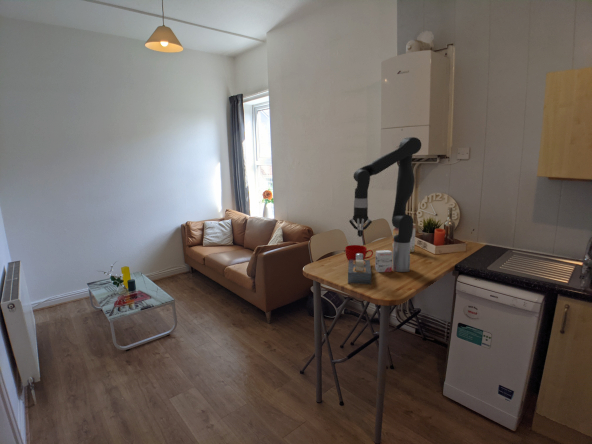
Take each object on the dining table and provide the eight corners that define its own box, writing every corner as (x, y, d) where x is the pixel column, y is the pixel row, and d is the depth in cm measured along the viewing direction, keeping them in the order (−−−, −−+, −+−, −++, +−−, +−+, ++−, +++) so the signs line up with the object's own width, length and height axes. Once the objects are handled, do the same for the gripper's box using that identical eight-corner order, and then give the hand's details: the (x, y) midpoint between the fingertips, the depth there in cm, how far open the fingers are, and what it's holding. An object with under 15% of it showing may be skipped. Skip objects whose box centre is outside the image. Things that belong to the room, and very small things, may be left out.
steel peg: (355, 262, 190) (355, 253, 189) (362, 262, 189) (363, 253, 188) (355, 264, 186) (355, 255, 185) (362, 264, 186) (363, 255, 184)
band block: (348, 268, 195) (348, 259, 194) (369, 269, 193) (369, 260, 192) (347, 283, 174) (348, 272, 172) (371, 284, 172) (371, 273, 170)
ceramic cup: (373, 267, 197) (373, 251, 194) (344, 266, 200) (344, 250, 198) (372, 260, 209) (372, 245, 207) (345, 259, 212) (345, 244, 210)
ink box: (388, 268, 194) (389, 249, 192) (392, 271, 189) (392, 252, 187) (374, 269, 193) (375, 250, 191) (377, 272, 189) (378, 252, 186)
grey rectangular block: (355, 269, 179) (355, 259, 177) (363, 269, 178) (363, 259, 177) (355, 271, 175) (355, 262, 174) (363, 272, 174) (363, 262, 173)
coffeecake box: (391, 247, 237) (392, 221, 233) (399, 246, 240) (400, 220, 236) (406, 252, 224) (408, 225, 220) (414, 251, 227) (416, 223, 222)
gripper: (372, 205, 183) (371, 235, 187) (348, 204, 186) (348, 234, 189) (373, 207, 176) (372, 238, 180) (348, 207, 179) (347, 237, 182)
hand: (359, 236), depth 185 cm, fingers closed
